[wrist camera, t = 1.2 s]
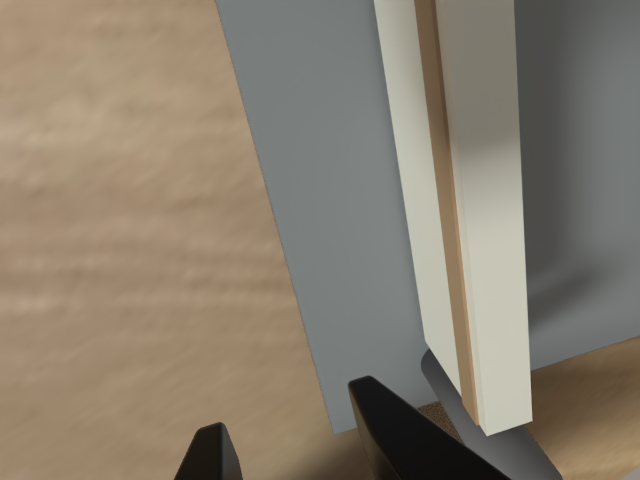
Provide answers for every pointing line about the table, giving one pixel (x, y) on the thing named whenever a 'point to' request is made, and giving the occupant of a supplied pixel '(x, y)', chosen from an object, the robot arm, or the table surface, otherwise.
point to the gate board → (388, 202)
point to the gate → (463, 192)
